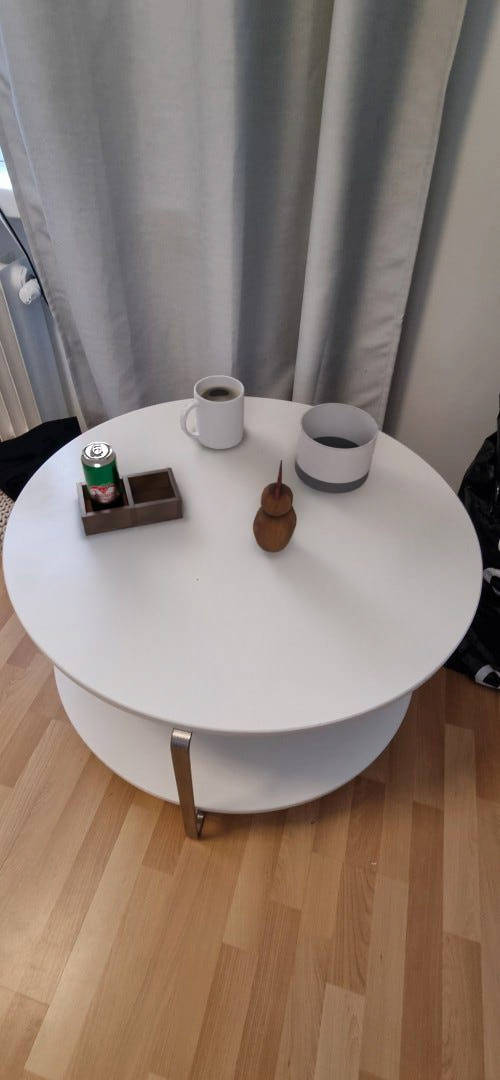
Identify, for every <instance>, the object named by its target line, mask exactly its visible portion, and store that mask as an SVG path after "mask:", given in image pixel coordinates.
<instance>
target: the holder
mask: <svg viewBox="0 0 500 1080" xmlns="http://www.w3.org/2000/svg"><path fill="white" fill-rule="evenodd" d="M119 476H120V482H121V488H122V494H123V500H124V507H118V508H113V509H107V510H101V511H95V512H93V511H92V507H91V502H90V498H89V493H88V489H87V485H86V481H82V482H76V484H75V485H76V492H77V498H78V504H79V506H78V507H79V512H80V518H81V522H82V527H83V531H84V535H85V537H89V536H94V535H98V534H104V533H109V532H110V533H111V532H116V531H121V530H126V529H133V528H137V527H143V526H148V525H153V524H159V523H164V522H170V521H176V520H180V519H184V513H183V511H184V510H183V499H182V496H181V493H180V490H179V487H178V484H177V480H176V477H175V474H174V472H173V468H172V467H166V468H159V469H153V470H146V471H141V472H135V473H129V474H123V475H119Z"/></svg>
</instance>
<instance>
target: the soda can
mask: <svg viewBox="0 0 500 1080" xmlns="http://www.w3.org/2000/svg"><path fill="white" fill-rule="evenodd" d="M80 463H81V467H82V471H83V475H84V480H85V482H86V485H87V489H88V493H89V498H90V502H91V507H92V511H93V512H95V511H101V510H107V509H113V508H118V507H124V500H123V494H122V488H121V482H120V476H121V475H120V471H119V466H118V460H117V454H116V452H115V450H114V449H113V447H112V446H111V445H110V444H108V443H107V442H102V441H95V442H91V443H89V444H87V445H86V446H84V447H83V448H82V451H81V456H80Z"/></svg>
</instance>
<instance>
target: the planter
mask: <svg viewBox="0 0 500 1080" xmlns="http://www.w3.org/2000/svg"><path fill="white" fill-rule="evenodd" d="M379 431H380V430H379V424H378V423H377V421H376V420H375V418H374V416H372V415H371V414H370V413H368V412H366V410H363V409H362V408H359V407H357V406H353V405H351V404H348V403H341V402H339V403H338V402H326V403H320V404H316V405H314V406H312V407H310V408H308V409H307V410H305V411H304V412H303V413H302V415H301V417H300V419H299V424H298V434H297V443H296V450H295V460H294V470H295V474H296V475H297V477H298V478H299V479H300V481H301V482H302V483H304V485H307V486H308V487H310V488H312V489H314V490H316V491H319V492H323V493H328V494H345V493H350V492H353V491H355V490H357V489H359V488H361V487H362V486H363V485H364V484H365V483H366V481H367V480H368V477H369V475H370V470H371V465H372V462H373V461H372V460H373V457H374V453H375V448H376V444H377V441H378V436H379Z"/></svg>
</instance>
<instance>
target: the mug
mask: <svg viewBox="0 0 500 1080" xmlns="http://www.w3.org/2000/svg"><path fill="white" fill-rule="evenodd" d="M193 409H194V419H195V420H194V422H195V423H194V424H195V425H194V426H195V431H189V430H188V429H187V419H188V416H189V414H190V413H191V411H193ZM244 417H245V387H244V384H243V383H242V382H241V381H240V380H238V379H237V378H235V377H232V376H228V375H224V374H223V375H221V374H218V375H217V374H216V375H209V376H205V377H203V378H201V379H200V380H198V381H197V382H196V383H195V384H194V388H193V399H192V400H190V401H189V402H187V404H186V405H185V406H184V407H183V409H182V410H181V413H180V418H179V423H180V424H179V425H180V428H181V431H182V432H183V433H184V434H185V435H186V436H187V437H188V438H190V439H194V440H195V439H196V440H197V441H198V442H199V443H200V444H201V445H202V446H205V447H207V448H209V449H212V450H213V449H214V450H226V449H230V448H233V447H235V446H238V445H239V444H240V442H242V440H243V437H244V421H245V420H244V419H245V418H244Z"/></svg>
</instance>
